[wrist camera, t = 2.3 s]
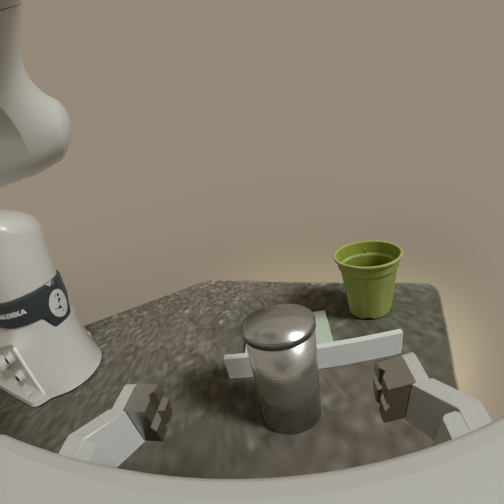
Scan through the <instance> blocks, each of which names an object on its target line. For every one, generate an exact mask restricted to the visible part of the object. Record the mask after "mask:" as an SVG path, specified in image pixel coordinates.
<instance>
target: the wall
mask: <svg viewBox="0 0 504 504" xmlns="http://www.w3.org/2000/svg"><path fill="white" fill-rule="evenodd" d="M402 339H403V332H402V330H401V329H397V330H393V331H388V332H383V333H378V334H373V335H368V336H363V337H357V338H352V339H346V340H340V341H334V342H328V343H322V344H316V346H317V357H318V369H322V368H329V367H335V366H341V365H347V364H352V363H357V362H363V361H368V360H373V359H378V358H382V357H387V356H391V355H396V354H400V353H401V349H402ZM224 362H225V365H226V368H227V371H228V375H229V378H230V379H233V378H246V377H254V376H253V372H252V368H251V364H250V360H249V356H248V353H241V354H230V355H225V356H224Z"/></svg>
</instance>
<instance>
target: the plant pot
mask: <svg viewBox="0 0 504 504" xmlns="http://www.w3.org/2000/svg"><path fill="white" fill-rule="evenodd" d="M402 256H403V250H402V249H401V248H400V247H399V246H398V245H396V244H394V243H390V242H386V241H376V240H372V241H361V242H355V243H351V244H348V245H345V246H343V247H341V248H339V249H338V250H337V251H336V252H335V253H334V260H335V262H336V263H337V264H338V267H339V269H340V271H341V272H342V277H343V281H344V286H345V290H346V295H347V299H348V304H349V309H350V312H351V313H352V314H353V315H354V316H356V317H358V318H361V319H365V318H373V319H376V318H380V317H382V316H384V315H386V314H387V313H388V312H389V311H390V309H391V304H392V298H393V291H394V285H395V278H396V272H397V268H398V266H399V261H400V259H401V258H402Z"/></svg>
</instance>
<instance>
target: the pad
mask: <svg viewBox="0 0 504 504" xmlns="http://www.w3.org/2000/svg"><path fill="white" fill-rule="evenodd" d="M313 313H314V315H315V321H316V329H315V335H316V344H322V343H328V342H333V339H332V335H331V331H330V327H329V324H328V320H327V316H326V313H325V310H323V311H316V312H313ZM245 353H248V351H247V347H246V348H245Z"/></svg>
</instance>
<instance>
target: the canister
mask: <svg viewBox="0 0 504 504" xmlns="http://www.w3.org/2000/svg"><path fill="white" fill-rule="evenodd" d="M315 329H316V321H315V315H314V313H313V312H312V311H311V310H310V309H309V308H307V307H305V306H302V305H299V304H292V303H281V304H274V305H269V306H266V307H263V308H260V309H258V310H256V311H254V312H253V313H251V314H250V315H248V316H247V317H246V318H245V319H244V321H243V323H242V325H241V332H242V336H243V339H244V341H245V343H246V347H247V351H248V356H249V360H250V364H251V368H252V372H253V376H254V380H255V384H256V388H257V392H258V396H259V400H260V404H261V408H262V411H263V415H264V419H265V422H266V424H267V425H268V427H269V428H271V429H272V430H273V431H275V432H278V433H281V434H289V435H290V434H298V433H302V432H304V431H307V430H309V429H310V428H312V427H313V426H314V425H315V424H316V423H317V422H318V420H319V418H320V416H321V399H320V384H319V370H318V357H317V346H316V335H315Z"/></svg>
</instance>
